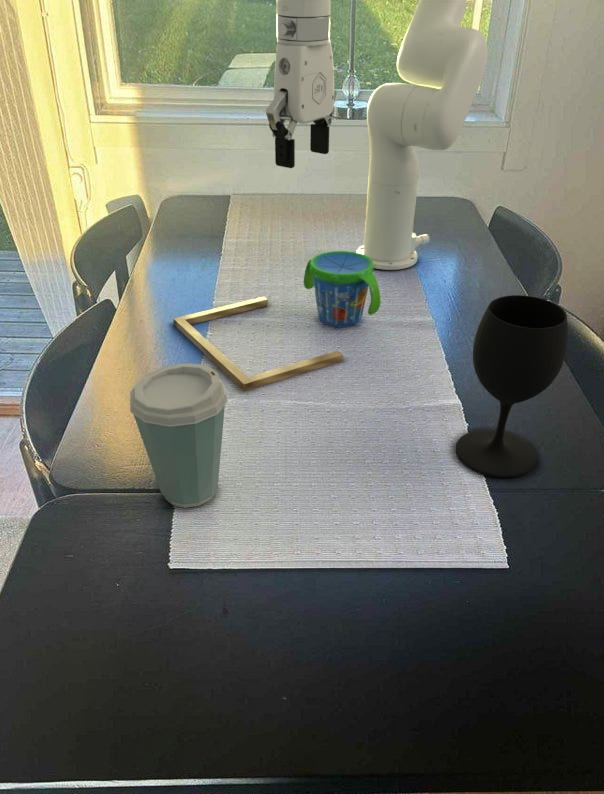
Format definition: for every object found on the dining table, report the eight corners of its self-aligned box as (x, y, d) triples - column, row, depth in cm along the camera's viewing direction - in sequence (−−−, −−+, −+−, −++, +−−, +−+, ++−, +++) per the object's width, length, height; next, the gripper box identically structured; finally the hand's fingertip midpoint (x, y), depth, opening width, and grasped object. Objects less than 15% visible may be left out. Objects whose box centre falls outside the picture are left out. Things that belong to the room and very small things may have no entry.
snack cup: (287, 311, 123) (287, 254, 117) (333, 296, 129) (335, 241, 122) (346, 344, 114) (350, 285, 108) (392, 327, 119) (398, 269, 113)
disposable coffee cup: (160, 530, 79) (142, 418, 69) (132, 477, 86) (113, 369, 77) (247, 503, 82) (241, 394, 73) (214, 454, 90) (204, 349, 81)
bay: (263, 302, 126) (263, 296, 125) (342, 361, 110) (343, 354, 109) (173, 324, 118) (172, 318, 118) (244, 391, 102) (243, 384, 101)
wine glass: (539, 440, 94) (577, 300, 81) (532, 486, 86) (572, 339, 73) (461, 425, 96) (487, 286, 84) (448, 468, 89) (473, 323, 76)
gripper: (290, 39, 92) (291, 176, 102) (356, 26, 103) (351, 151, 114) (245, 34, 95) (250, 168, 105) (314, 22, 106) (312, 144, 117)
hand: (302, 159), depth 110 cm, fingers open, 9 cm apart
